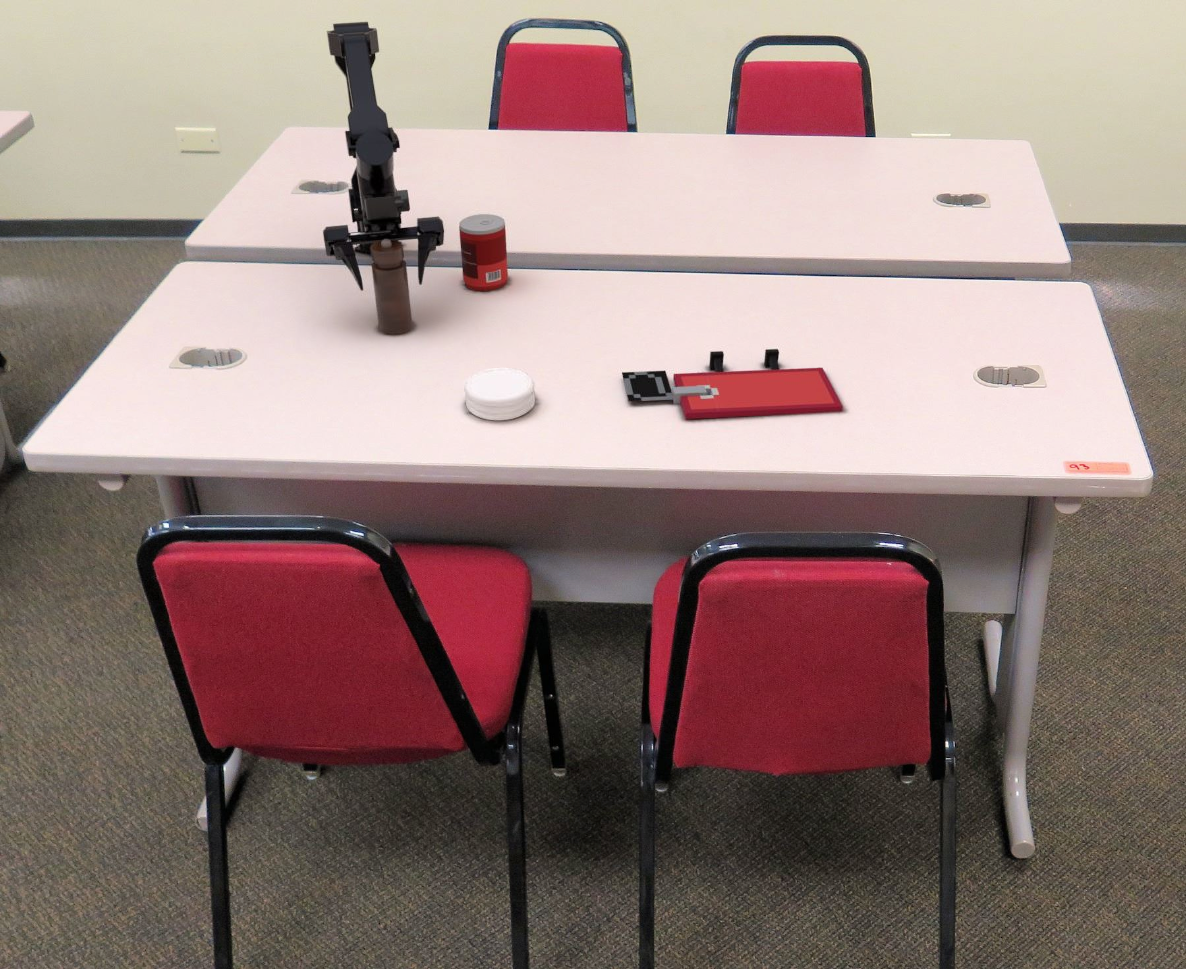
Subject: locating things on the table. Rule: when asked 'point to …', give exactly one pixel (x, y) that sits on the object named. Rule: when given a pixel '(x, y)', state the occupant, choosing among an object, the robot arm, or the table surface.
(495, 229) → the canned food
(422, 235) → the robot arm
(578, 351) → the table surface
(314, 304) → the table surface
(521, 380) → the coaster
